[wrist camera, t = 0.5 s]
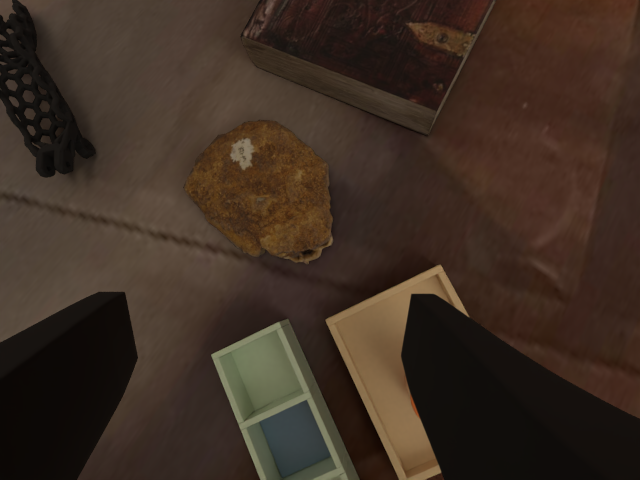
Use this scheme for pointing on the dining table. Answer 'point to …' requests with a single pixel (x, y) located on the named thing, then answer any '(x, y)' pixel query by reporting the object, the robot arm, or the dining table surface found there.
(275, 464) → the green compartment tray
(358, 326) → the birch tray
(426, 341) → the robot arm
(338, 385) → the dining table surface
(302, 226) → the decorative rock
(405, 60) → the hardback book
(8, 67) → the decorative element
